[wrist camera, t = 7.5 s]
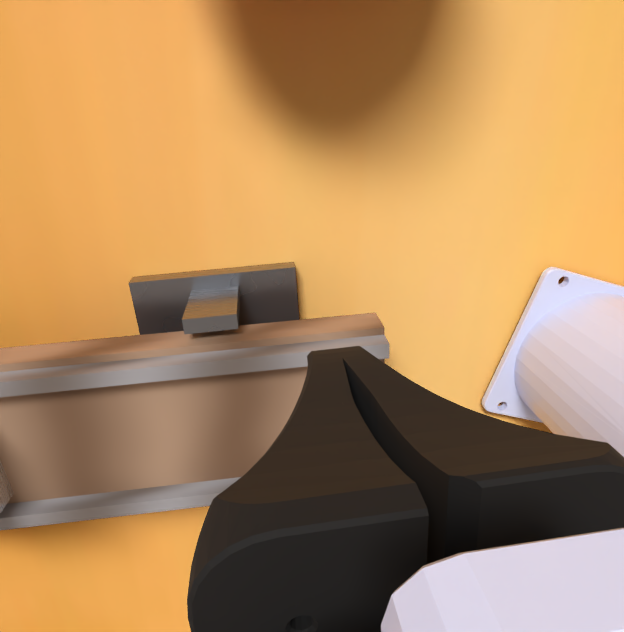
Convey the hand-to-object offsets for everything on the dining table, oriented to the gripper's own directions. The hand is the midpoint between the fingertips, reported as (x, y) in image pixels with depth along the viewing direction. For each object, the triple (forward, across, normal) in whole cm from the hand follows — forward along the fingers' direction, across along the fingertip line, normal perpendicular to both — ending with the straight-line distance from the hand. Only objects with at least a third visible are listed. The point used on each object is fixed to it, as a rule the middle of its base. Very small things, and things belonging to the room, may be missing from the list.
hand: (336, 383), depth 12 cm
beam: (+8, +9, +5) cm, 13 cm away
